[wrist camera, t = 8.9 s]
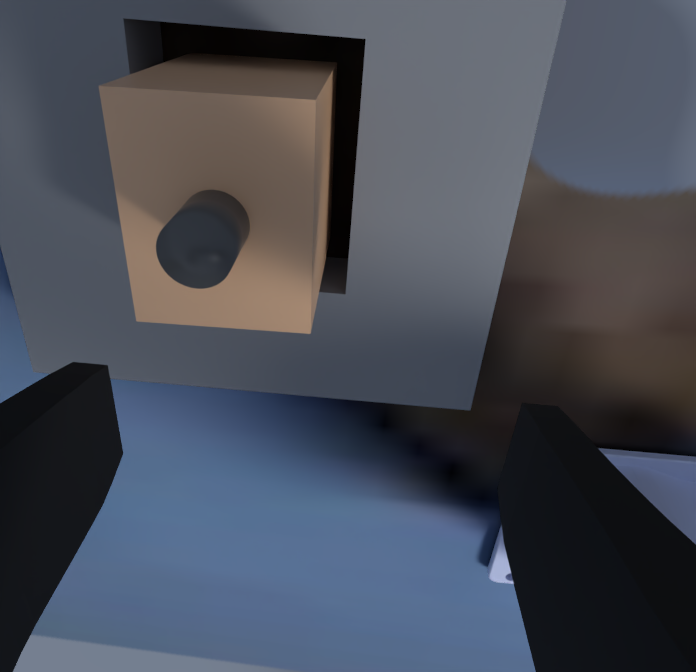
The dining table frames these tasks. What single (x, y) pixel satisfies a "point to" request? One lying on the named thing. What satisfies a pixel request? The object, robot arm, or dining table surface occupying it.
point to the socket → (368, 199)
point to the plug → (224, 188)
